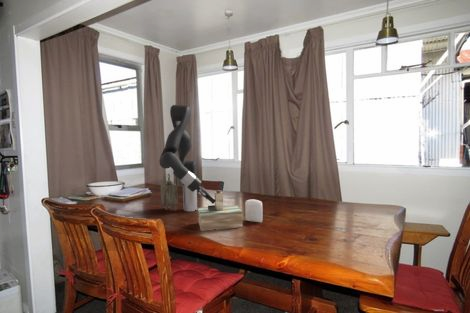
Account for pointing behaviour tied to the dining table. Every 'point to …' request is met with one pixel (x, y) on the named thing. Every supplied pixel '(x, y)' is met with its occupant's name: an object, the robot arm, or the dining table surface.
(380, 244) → the dining table surface
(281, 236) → the dining table surface
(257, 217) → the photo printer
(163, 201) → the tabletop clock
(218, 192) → the wooden knobbed block
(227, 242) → the dining table surface
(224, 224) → the rectangular block
